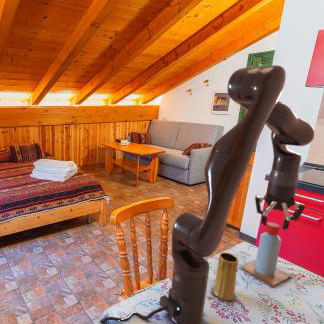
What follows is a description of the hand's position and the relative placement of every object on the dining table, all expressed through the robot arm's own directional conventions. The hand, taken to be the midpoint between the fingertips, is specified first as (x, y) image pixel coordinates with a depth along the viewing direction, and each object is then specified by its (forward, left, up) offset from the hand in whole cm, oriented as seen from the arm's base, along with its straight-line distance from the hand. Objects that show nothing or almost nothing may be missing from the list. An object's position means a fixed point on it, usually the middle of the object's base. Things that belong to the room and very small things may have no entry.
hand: (274, 226), depth 89 cm
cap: (0, 0, -3) cm, 3 cm away
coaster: (0, 0, -19) cm, 19 cm away
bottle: (0, 0, -19) cm, 19 cm away
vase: (-24, 0, -19) cm, 31 cm away
